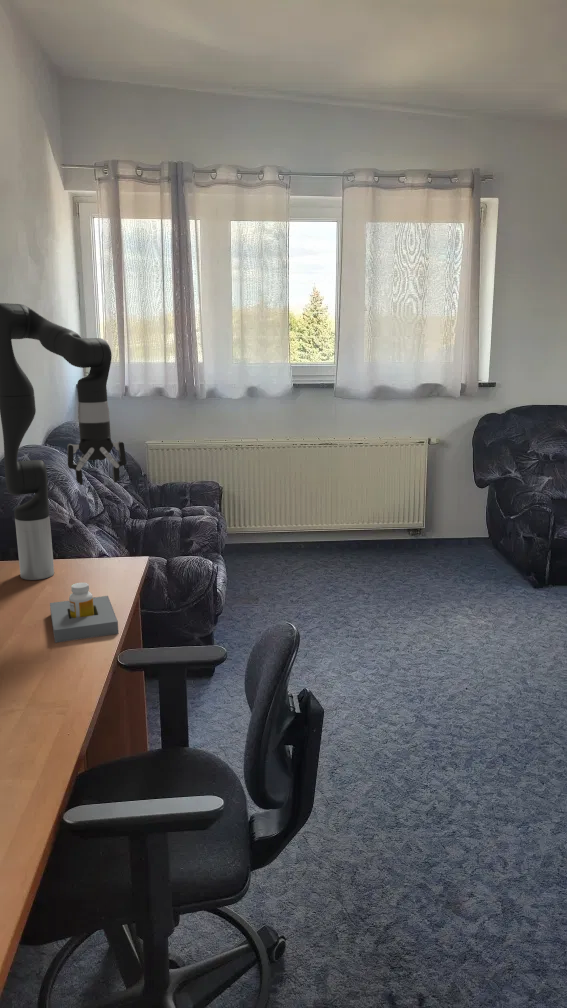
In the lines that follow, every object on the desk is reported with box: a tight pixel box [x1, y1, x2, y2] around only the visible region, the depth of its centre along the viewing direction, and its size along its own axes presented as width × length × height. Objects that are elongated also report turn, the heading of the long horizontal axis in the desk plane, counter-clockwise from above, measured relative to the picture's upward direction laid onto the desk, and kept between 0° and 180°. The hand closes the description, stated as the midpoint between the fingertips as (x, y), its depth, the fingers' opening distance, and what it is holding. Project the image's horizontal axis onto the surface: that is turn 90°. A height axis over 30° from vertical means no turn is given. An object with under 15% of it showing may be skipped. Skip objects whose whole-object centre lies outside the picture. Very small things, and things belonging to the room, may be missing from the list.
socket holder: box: [49, 595, 119, 644], centre depth 171 cm, size 18×14×3 cm
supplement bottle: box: [68, 582, 94, 618], centre depth 171 cm, size 5×5×10 cm
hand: (98, 483), depth 184 cm, fingers open, 8 cm apart
